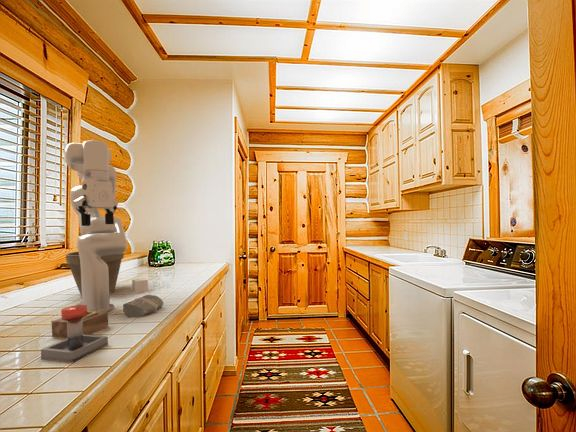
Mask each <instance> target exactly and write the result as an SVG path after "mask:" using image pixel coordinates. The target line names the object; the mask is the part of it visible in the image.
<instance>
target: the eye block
mask: <svg viewBox="0 0 576 432" xmlns="http://www.w3.org/2000/svg"><path fill="white" fill-rule="evenodd" d="M108 327H109V311H108V312H98V311H87V316H85V317H83V334H85V335H93V334H94V333H96V332H99V331H101V330H103V329H106V328H108ZM51 337H52V338H64V339H67V338H68V335H67V320H62V319H61V318H57V319H54V320H52V321H51Z"/></svg>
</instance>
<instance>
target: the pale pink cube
mask: <svg viewBox="0 0 576 432" xmlns="http://www.w3.org/2000/svg"><path fill="white" fill-rule="evenodd" d="M131 280H132V282H131V283H132V284H131V285H132V292H133V293H134V292H135V293H134V294H140V293H144V292H149V280H148V279H147V278H145V277H142V278H136V279H131Z"/></svg>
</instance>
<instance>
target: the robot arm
mask: <svg viewBox="0 0 576 432" xmlns="http://www.w3.org/2000/svg"><path fill="white" fill-rule="evenodd" d="M111 151H112V150H110V149H109V146H108V144H107V143H106V141H105V142H104V141H102V140H96V139H90V140H89V139H88V140H85V141H83V142H71V143H68V144H67V145H66V147H65V151H64V155H65V156H64V157H65V158H64V159H65V163H66V166H67V167H68V168H69V169H70V170H72V171H74V172H77V174H76V175H77V177H78V178H79V179H80V181H82V184H81V185H77V186H74V187H72V188H71V189H70V193H69V198H70V204H71V207H72V209H73V210H74V212H75V213H76V215H77V217H78V224H79V225H78V226H79V232H80V235H81V236H80V237H79V238H78V239H77V243H76V245H77V252H79V257H80V265H81V286H82V296H81V299H80V300H79V301H77V302H76V304H75V305H87V311H98V312H108V313H109V312H110V311H112V310H114V309H115V304H112V303H110V293H109V274H108V265H107V264H106V263H105V262H104V261H103V260H102V259H101V258H100V257H101V256H109V255H118V254H122V253H125V252H126V251H127V248H128V242H127V237H126V233H125V229H124V225H123V222H122V220H121V219H120V218H119V217H117V216H114V214H115V213H116V210H117V207H118V206H119V205H118V204H119V201H118V200H116V189H117V171H116V168H115V167H114V166H113V165H111V164H110V162H112V152H111ZM99 209H103V211H105V213H104V216H102V213H101V211H100V210H99Z"/></svg>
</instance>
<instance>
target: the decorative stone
mask: <svg viewBox="0 0 576 432" xmlns="http://www.w3.org/2000/svg"><path fill="white" fill-rule="evenodd" d="M163 306H164V300H162V298H160V297H159V296H158V295H154V294H145V295H143V296H141V297H137V298H135V299H133V300H131V301H127V302H126V303H123V304H122V311H123V315H124V316H126V317H127V318H142V317H146V316H149V315H151V314H154V313H157V312H158V311H160V310H161V309H162V308H163Z"/></svg>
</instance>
